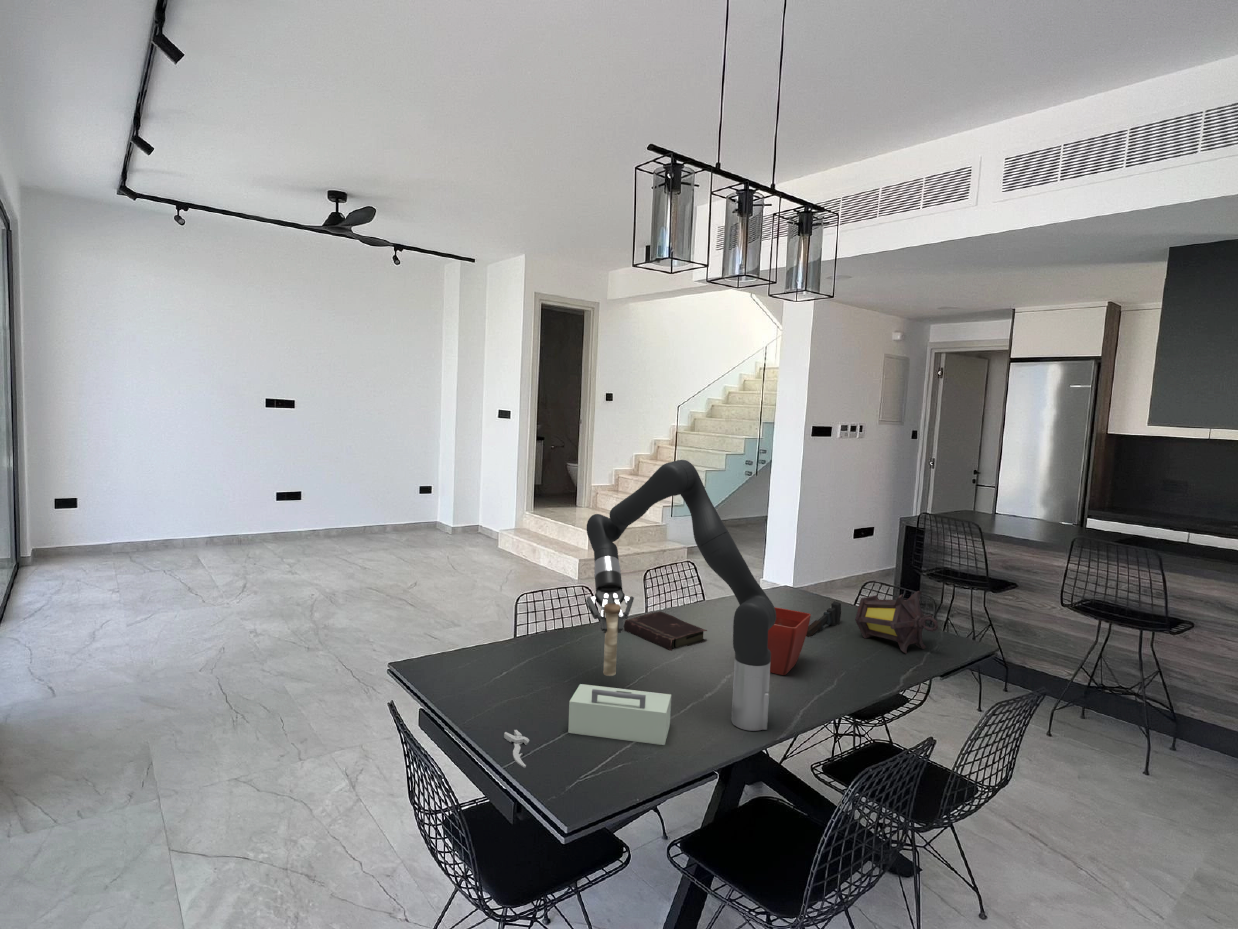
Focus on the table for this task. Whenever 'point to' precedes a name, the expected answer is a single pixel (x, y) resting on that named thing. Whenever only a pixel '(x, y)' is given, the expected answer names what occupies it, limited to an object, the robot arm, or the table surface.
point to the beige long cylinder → (611, 638)
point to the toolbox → (620, 714)
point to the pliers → (517, 745)
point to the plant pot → (787, 639)
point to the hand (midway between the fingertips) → (612, 631)
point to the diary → (664, 630)
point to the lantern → (894, 620)
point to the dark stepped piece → (826, 619)
